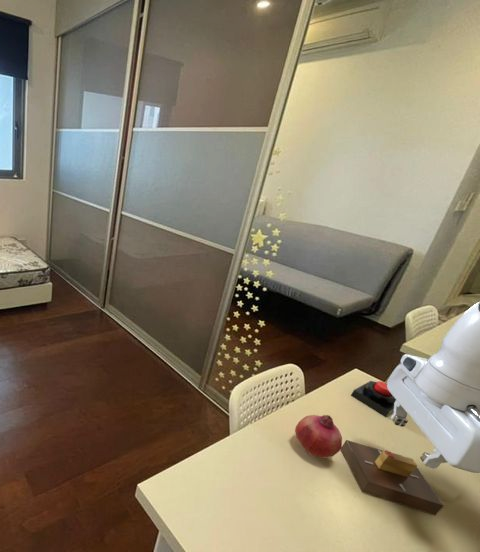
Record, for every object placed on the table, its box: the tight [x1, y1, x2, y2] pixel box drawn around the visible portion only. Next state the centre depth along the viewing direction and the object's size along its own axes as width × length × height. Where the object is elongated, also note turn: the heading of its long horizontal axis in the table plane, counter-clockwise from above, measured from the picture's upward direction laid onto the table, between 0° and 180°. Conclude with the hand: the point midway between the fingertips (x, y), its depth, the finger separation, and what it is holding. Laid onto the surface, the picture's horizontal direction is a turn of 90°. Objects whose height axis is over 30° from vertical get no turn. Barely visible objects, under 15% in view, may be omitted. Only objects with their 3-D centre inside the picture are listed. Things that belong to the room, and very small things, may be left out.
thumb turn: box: [375, 449, 418, 477], centre depth 64 cm, size 5×2×4 cm, turn 73°
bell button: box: [374, 380, 391, 396], centre depth 86 cm, size 4×4×2 cm
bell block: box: [350, 380, 396, 418], centre depth 87 cm, size 10×8×4 cm
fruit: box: [294, 414, 343, 459], centre depth 68 cm, size 8×8×10 cm
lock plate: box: [340, 439, 445, 516], centre depth 65 cm, size 12×10×3 cm
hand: (410, 442), depth 61 cm, fingers open, 8 cm apart
